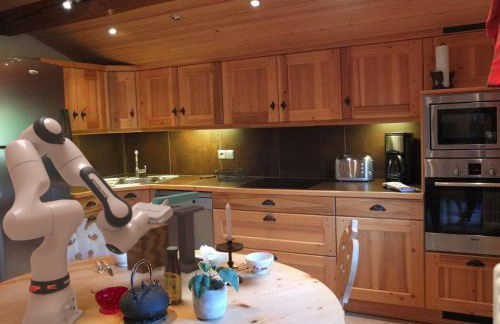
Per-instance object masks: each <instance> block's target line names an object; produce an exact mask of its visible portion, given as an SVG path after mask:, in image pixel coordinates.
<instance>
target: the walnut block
mask: <svg viewBox="0 0 500 324" xmlns="http://www.w3.org/2000/svg"><path fill="white" fill-rule="evenodd" d="M169 231H170V230H169V223H165V222H164V223H162V224H158V225H154V224H153V226H152V228H151V229H150V230H149V231H148V232H147V233H146V234H145V235H144V236H142V237H141V238H139V240H138V242H137V243H136V244H135V245H134V246H133V247H132V248H131V249H130V250H129V251H127V252H126V253H125V254H126V265H127V270H128V269H130V270H129V271H132V269H133V267H134V265H135V264H136V263H137V262H138V261H140V260H142V259H145V260H147V261H149V263H150V264H151V268H152V270H155V269H157V268H161V267H163V266H164V267H165V263H166V262H167V248H168V247H170V233H169ZM152 270H151V271H152ZM147 272H150V271H149V269H148V266H147V264H146V263H142V264H140V265H139V266H138V268H137V270H136V273H140V274H145V273H147Z"/></svg>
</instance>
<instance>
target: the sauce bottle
mask: <svg viewBox="0 0 500 324" xmlns="http://www.w3.org/2000/svg"><path fill="white" fill-rule="evenodd" d="M178 259H179V248H178V246H173V245H172V246H169V247H168V248H167V262H166V266H165V265H164V269H163V270H164V271H163V289H164V288H165V290H166V291H167V293H168V294H169V296H170V299H171V303H170V304H169V305H177V304H179V303H181V302H182V299H183V282H182V279H183V278H182V276H183V275H182V274H183V273H182V272H181V264H180V263H179V261H178Z"/></svg>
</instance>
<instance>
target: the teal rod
mask: <svg viewBox="0 0 500 324" xmlns="http://www.w3.org/2000/svg"><path fill="white" fill-rule="evenodd" d="M164 199H168V201H169V203H168V204H167V206H170V205H173V204H179V203H184V202H190V201H195V200H199V199H200V192H199V191H191V192H184V193H183V192H182V193H178V194H172V195H171V194H170V195H166V196H160V197H154V198H152V199H151V202H152V204H157V205H161V204H163V202H162V201H163V200H164Z"/></svg>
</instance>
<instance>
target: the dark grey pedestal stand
mask: <svg viewBox="0 0 500 324" xmlns="http://www.w3.org/2000/svg"><path fill="white" fill-rule="evenodd" d="M171 209H172V210H173V215H172V216H176V222H177V224H176V225H177V243H178V246H177V247H178V261H179V263H180V264H181V273H182V274H187V275H189V274H191V273H193V272H195V271H199V270H201V269H200V268H199V266H198V263H199V262H200V261H203V259H204V258H201V257H197V256H196V247H195V246H196V245H195V244H196V243H195V225H194V224H195V223H194V222H195V221H194V213H198V212H202V211H205V206H201V205H193V204H184V205H182V206H177V207H171ZM165 266H166V263H165V265H164V267H165Z"/></svg>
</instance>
